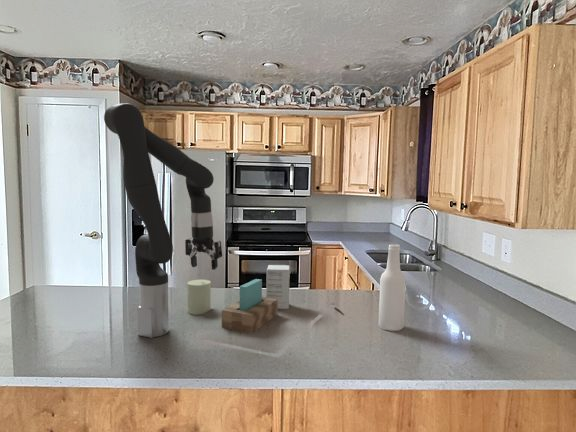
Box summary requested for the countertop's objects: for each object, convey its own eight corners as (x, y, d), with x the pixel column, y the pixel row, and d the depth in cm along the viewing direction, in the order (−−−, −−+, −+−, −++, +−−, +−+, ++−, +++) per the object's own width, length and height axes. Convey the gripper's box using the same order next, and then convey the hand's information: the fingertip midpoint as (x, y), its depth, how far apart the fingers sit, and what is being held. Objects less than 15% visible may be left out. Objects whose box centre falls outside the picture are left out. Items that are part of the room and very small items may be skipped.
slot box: (251, 335, 134) (252, 315, 133) (221, 329, 139) (221, 310, 138) (277, 317, 152) (277, 299, 151) (249, 312, 157) (249, 295, 156)
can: (197, 316, 152) (197, 285, 151) (182, 311, 157) (182, 281, 156) (215, 310, 159) (215, 280, 158) (200, 305, 164) (200, 277, 163)
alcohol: (386, 332, 138) (389, 247, 136) (374, 323, 147) (377, 243, 144) (408, 330, 141) (412, 246, 138) (395, 322, 149) (398, 242, 147)
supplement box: (288, 311, 159) (289, 269, 158) (265, 310, 159) (266, 269, 158) (289, 304, 169) (289, 264, 167) (267, 303, 169) (267, 264, 167)
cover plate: (245, 326, 139) (245, 287, 138) (239, 325, 140) (239, 286, 139) (261, 316, 150) (261, 279, 149) (255, 315, 151) (256, 278, 150)
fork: (340, 316, 156) (340, 311, 155) (325, 304, 171) (325, 299, 171) (346, 315, 156) (347, 310, 156) (331, 303, 172) (331, 299, 171)
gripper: (179, 225, 142) (181, 268, 145) (213, 227, 136) (215, 273, 139) (191, 221, 149) (194, 263, 151) (224, 223, 143) (226, 267, 146)
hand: (204, 267), depth 145 cm, fingers open, 8 cm apart
